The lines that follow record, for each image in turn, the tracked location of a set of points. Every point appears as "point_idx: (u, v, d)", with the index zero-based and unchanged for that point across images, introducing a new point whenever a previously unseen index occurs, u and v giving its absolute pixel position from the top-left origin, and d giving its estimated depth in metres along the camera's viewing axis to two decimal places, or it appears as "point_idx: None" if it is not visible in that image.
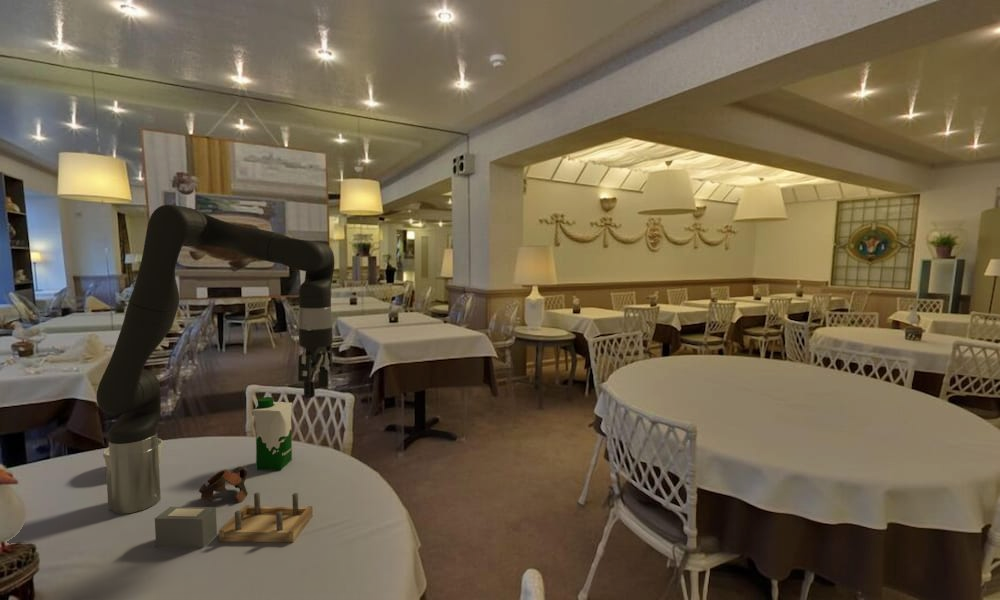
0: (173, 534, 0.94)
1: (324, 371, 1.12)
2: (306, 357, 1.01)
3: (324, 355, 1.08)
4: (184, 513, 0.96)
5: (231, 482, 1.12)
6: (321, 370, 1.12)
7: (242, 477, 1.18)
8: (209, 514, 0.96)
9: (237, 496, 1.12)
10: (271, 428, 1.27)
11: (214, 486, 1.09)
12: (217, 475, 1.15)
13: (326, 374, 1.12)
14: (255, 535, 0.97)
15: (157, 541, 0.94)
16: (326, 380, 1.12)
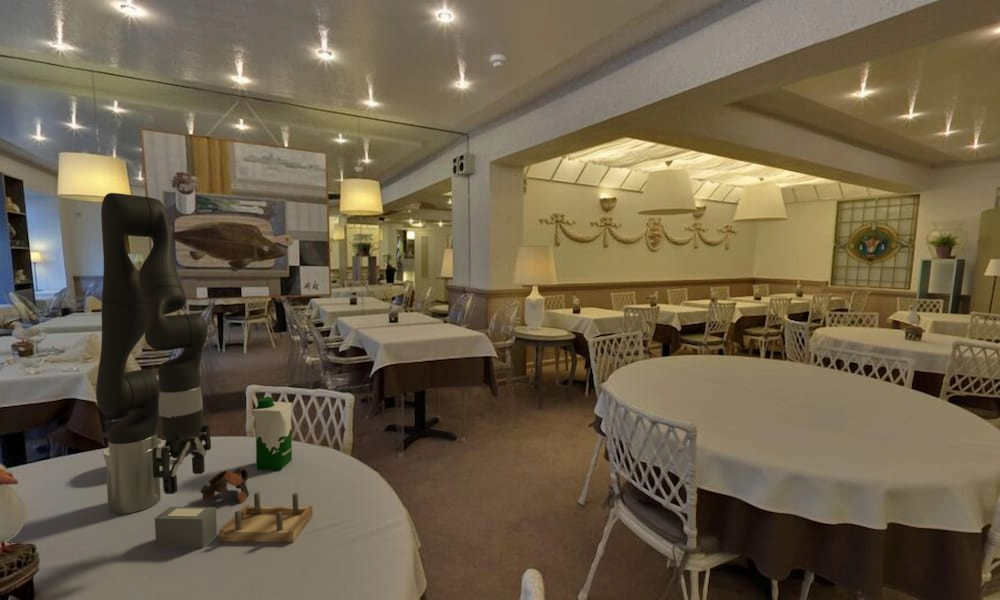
0: (173, 534, 0.94)
1: (198, 456, 0.99)
2: (161, 450, 0.88)
3: (193, 441, 0.96)
4: (184, 513, 0.96)
5: (233, 483, 1.11)
6: (195, 455, 0.99)
7: (243, 477, 1.18)
8: (209, 514, 0.96)
9: (239, 497, 1.11)
10: (271, 428, 1.27)
11: (216, 487, 1.09)
12: (218, 476, 1.15)
13: (201, 459, 0.99)
14: (255, 535, 0.97)
15: (157, 541, 0.94)
16: (201, 466, 0.99)
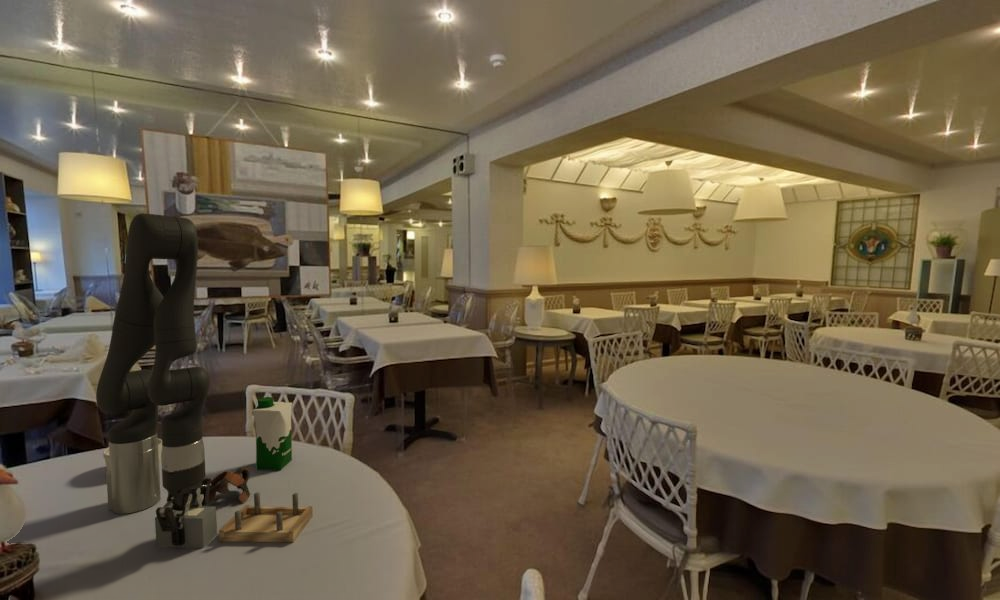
0: None
1: None
2: (164, 512, 0.89)
3: (195, 491, 0.97)
4: None
5: (234, 483, 1.11)
6: None
7: (244, 478, 1.18)
8: (209, 513, 0.96)
9: (240, 497, 1.11)
10: (271, 428, 1.27)
11: (217, 487, 1.09)
12: (219, 476, 1.14)
13: None
14: (255, 535, 0.97)
15: (157, 540, 0.94)
16: None
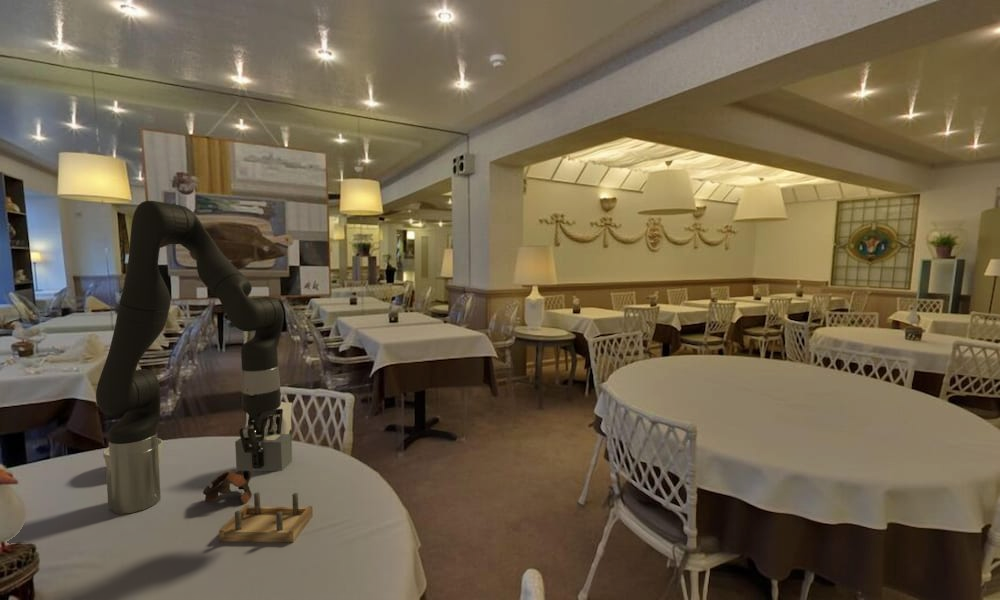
0: None
1: None
2: (248, 432, 0.92)
3: (271, 418, 1.00)
4: None
5: (236, 483, 1.11)
6: None
7: (246, 478, 1.18)
8: (286, 439, 1.00)
9: (242, 497, 1.11)
10: None
11: (219, 488, 1.09)
12: (221, 477, 1.14)
13: None
14: (255, 535, 0.97)
15: (237, 464, 0.98)
16: None
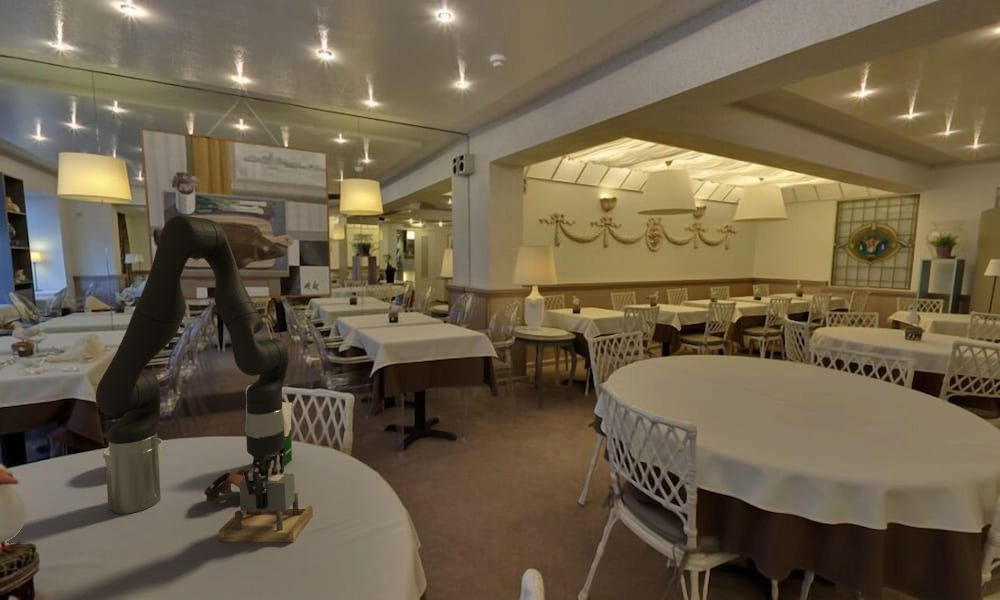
0: None
1: None
2: (252, 475, 0.94)
3: (275, 458, 1.01)
4: None
5: (237, 484, 1.11)
6: None
7: None
8: (289, 479, 1.01)
9: None
10: None
11: (220, 488, 1.08)
12: (222, 477, 1.14)
13: None
14: (255, 535, 0.97)
15: (241, 504, 0.99)
16: None
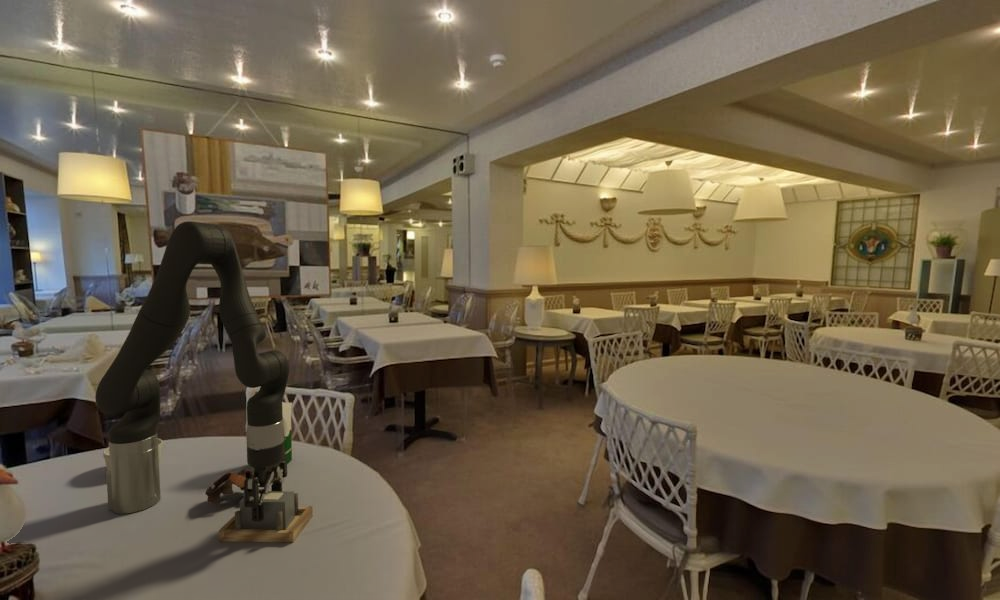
0: None
1: (277, 483, 1.05)
2: (252, 482, 0.94)
3: (276, 470, 1.01)
4: (266, 497, 1.01)
5: (238, 484, 1.11)
6: (274, 482, 1.05)
7: None
8: (289, 497, 1.01)
9: None
10: None
11: (221, 488, 1.08)
12: (223, 477, 1.14)
13: (279, 487, 1.05)
14: (255, 535, 0.97)
15: None
16: None
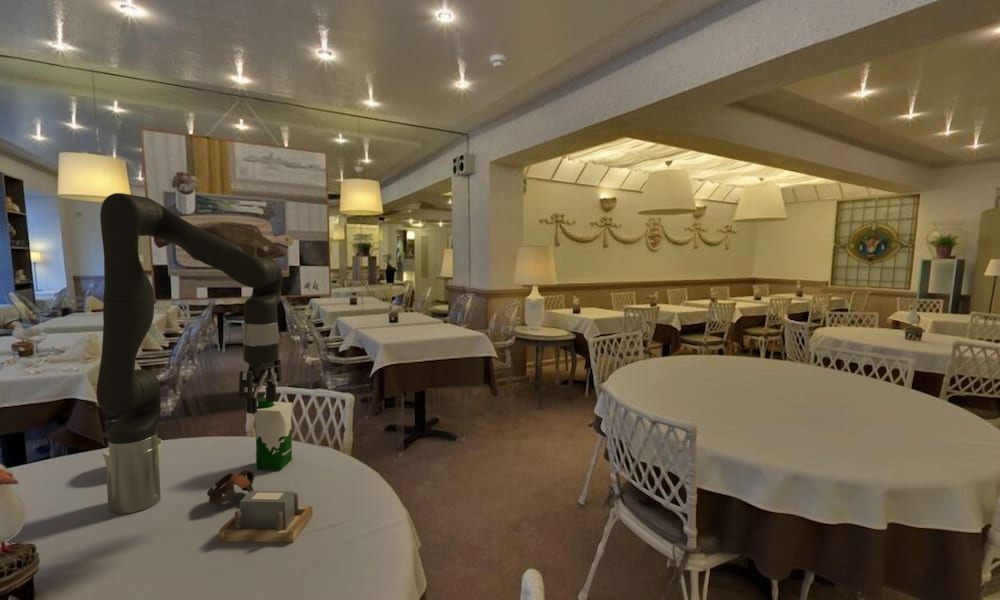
0: (257, 517, 0.99)
1: (271, 386, 1.12)
2: (247, 373, 1.01)
3: (270, 370, 1.08)
4: (266, 497, 1.01)
5: (240, 485, 1.10)
6: (268, 385, 1.12)
7: (249, 480, 1.17)
8: (289, 497, 1.01)
9: None
10: (271, 428, 1.27)
11: (223, 489, 1.08)
12: (224, 478, 1.14)
13: (273, 389, 1.12)
14: (255, 535, 0.97)
15: None
16: (273, 395, 1.12)
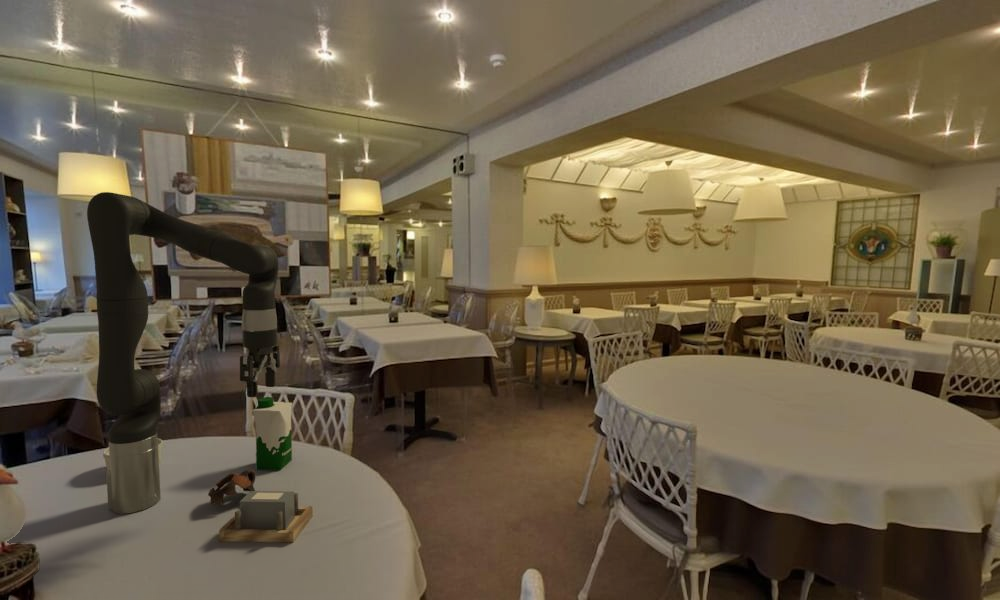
0: (257, 517, 0.99)
1: (271, 371, 1.15)
2: (247, 358, 1.04)
3: (269, 356, 1.11)
4: (266, 497, 1.01)
5: (241, 485, 1.10)
6: (268, 370, 1.15)
7: (251, 480, 1.17)
8: (289, 497, 1.01)
9: None
10: (271, 428, 1.27)
11: (224, 489, 1.08)
12: (226, 478, 1.13)
13: (273, 374, 1.15)
14: (255, 535, 0.97)
15: None
16: (273, 380, 1.15)
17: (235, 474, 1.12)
